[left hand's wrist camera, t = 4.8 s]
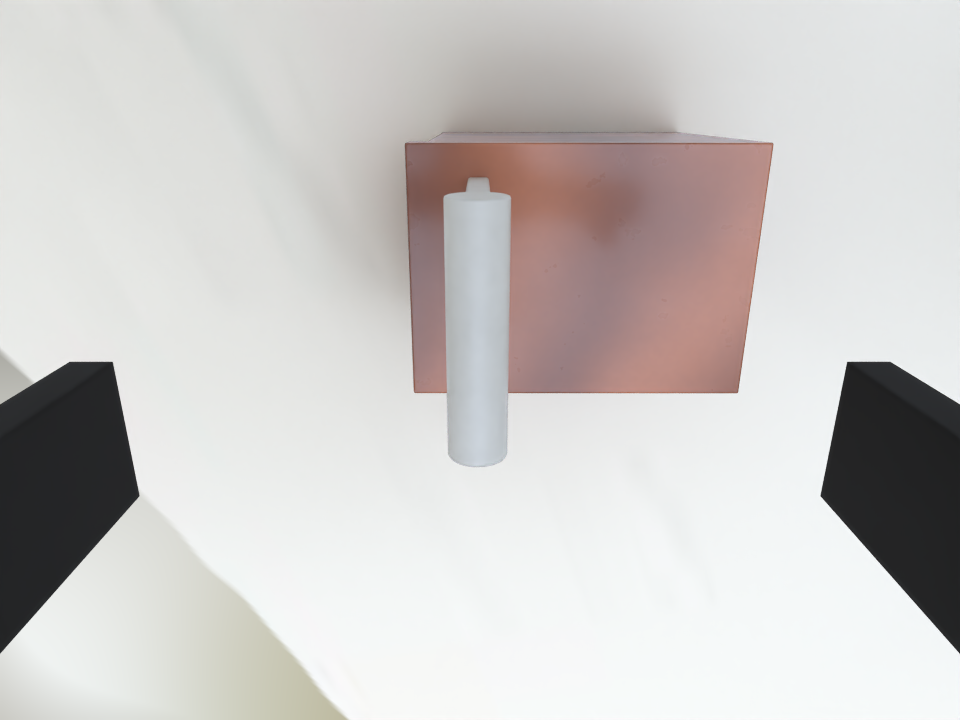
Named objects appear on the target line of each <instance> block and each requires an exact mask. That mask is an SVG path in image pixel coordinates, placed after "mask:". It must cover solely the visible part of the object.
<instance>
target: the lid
mask: <svg viewBox="0 0 960 720" xmlns="http://www.w3.org/2000/svg"><path fill="white" fill-rule="evenodd" d="M772 151H773V143H769V142H407V143H405V162H406V190H407V217H408V244H409V272H410V299H411V326H412V354H413V381H414V393H447V421H448V454H449V456H450V458H451V459H452V460H453V461H454V462H456V463H458V464H461V465H464V466H469V467H486V466H491V465H494V464H497V463H499V462H501V461H502V460H503V459H504V458H505V457H506V455H507V430H508V393H738V388H739V381H740V374H741V367H742V360H743V353H744V347H745V340H746V333H747V326H748V319H749V312H750V305H751V298H752V291H753V284H754V277H755V270H756V263H757V256H758V249H759V242H760V235H761V228H762V221H763V214H764V207H765V200H766V193H767V186H768V179H769V172H770V165H771V158H772Z"/></svg>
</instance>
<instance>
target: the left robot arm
mask: <svg viewBox="0 0 960 720" xmlns="http://www.w3.org/2000/svg"><path fill="white" fill-rule="evenodd" d="M138 497H139V491H138V486H137V481H136V476H135V471H134V466H133V461H132V456H131V451H130V446H129V441H128V436H127V431H126V426H125V421H124V416H123V411H122V406H121V401H120V396H119V391H118V386H117V381H116V376H115V371H114V366H113V362H69V363H67V364H66V365H64V366H62V367H61V368H59V369H57V370H56V371H54V372H52V373H51V374H49V375H48V376H46V377H44V378H43V379H41V380H39V381H38V382H36V383H34V384H33V385H31V386H30V387H28V388H26V389H25V390H23V391H22V392H20V393H18V394H17V395H15V396H13V397H12V398H10V399H8V400H7V401H5V402H3V403H2V404H0V653H1V652H2V651H3V650H4V649H5V647H6V646H7V645H8V644H9V643H10V642H11V641H12V640H13V638H14V637H15V636H16V635H17V634H18V633H19V632H20V630H21V629H22V628H23V627H24V626H25V625H26V624H27V623H28V622H29V620H30V619H31V618H32V617H33V616H34V615H35V614H36V612H37V611H38V610H39V609H40V608H41V607H42V606H43V605H44V603H45V602H46V601H47V600H48V599H49V598H50V597H51V595H52V594H53V593H54V592H55V591H56V590H57V589H58V587H59V586H60V585H61V584H62V583H63V582H64V581H65V580H66V579H67V577H68V576H69V575H70V574H71V573H72V572H73V571H74V569H75V568H76V567H77V566H78V565H79V564H80V563H81V562H82V560H83V559H84V558H85V557H86V556H87V555H88V554H89V553H90V551H91V550H92V549H93V548H94V547H95V546H96V545H97V543H98V542H99V541H100V540H101V539H102V538H103V537H104V536H105V534H106V533H107V532H108V531H109V530H110V529H111V528H112V527H113V525H114V524H115V523H116V522H117V521H118V520H119V519H120V517H121V516H122V515H123V514H124V513H125V512H126V511H127V510H128V508H129V507H130V506H131V505H132V504H133V503H134V502H135V501H136V499H137V498H138ZM821 497H822V498H823V499H824V501H825V502H826V503H827V504H828V505H829V506H830V507H831V508H832V510H833V511H834V512H835V513H836V514H837V515H838V516H839V517H840V519H841V520H842V521H843V522H844V523H845V524H846V525H847V527H848V528H849V529H850V530H851V531H852V532H853V533H854V534H855V536H856V537H857V538H858V539H859V540H860V541H861V542H862V543H863V545H864V546H865V547H866V548H867V549H868V550H869V551H870V553H871V554H872V555H873V556H874V557H875V558H876V559H877V560H878V562H879V563H880V564H881V565H882V566H883V567H884V568H885V570H886V571H887V572H888V573H889V574H890V575H891V576H892V577H893V579H894V580H895V581H896V582H897V583H898V584H899V585H900V586H901V588H902V589H903V590H904V591H905V592H906V593H907V594H908V596H909V597H910V598H911V599H912V600H913V601H914V602H915V603H916V605H917V606H918V607H919V608H920V609H921V610H922V611H923V612H924V614H925V615H926V616H927V617H928V618H929V619H930V620H931V622H932V623H933V624H934V625H935V626H936V627H937V628H938V629H939V631H940V632H941V633H942V634H943V635H944V636H945V637H946V638H947V640H948V641H949V642H950V643H951V644H952V645H953V646H954V648H955V649H956V650H957V651H958V652H959V653H960V404H958V403H957V402H955V401H953V400H952V399H950V398H948V397H947V396H945V395H943V394H942V393H940V392H939V391H937V390H935V389H934V388H932V387H930V386H929V385H927V384H926V383H924V382H922V381H921V380H919V379H917V378H916V377H914V376H912V375H911V374H909V373H908V372H906V371H904V370H903V369H901V368H899V367H898V366H896V365H894V364H893V363H891V362H847V366H846V371H845V376H844V381H843V386H842V391H841V396H840V401H839V406H838V411H837V416H836V421H835V426H834V431H833V436H832V441H831V446H830V451H829V456H828V461H827V466H826V471H825V476H824V481H823V486H822V491H821Z"/></svg>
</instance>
